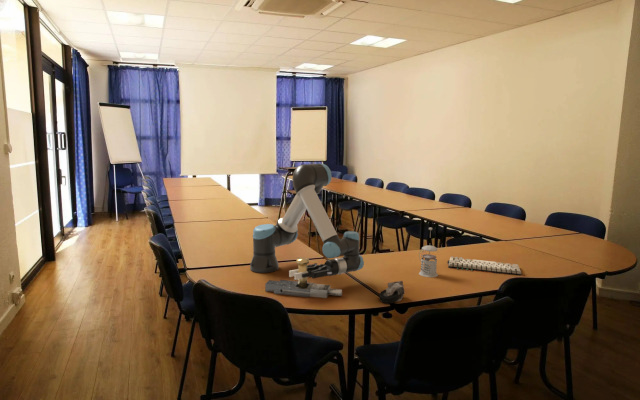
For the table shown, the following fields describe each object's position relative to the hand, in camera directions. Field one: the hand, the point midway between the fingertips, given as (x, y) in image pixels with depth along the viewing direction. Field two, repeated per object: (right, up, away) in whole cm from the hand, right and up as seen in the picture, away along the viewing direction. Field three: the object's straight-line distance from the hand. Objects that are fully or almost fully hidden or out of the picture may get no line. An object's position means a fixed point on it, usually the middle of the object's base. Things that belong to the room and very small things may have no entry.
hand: (292, 275), depth 183 cm
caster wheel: (+44, -11, -4) cm, 45 cm away
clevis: (+4, -9, +4) cm, 11 cm away
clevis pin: (+4, -7, +4) cm, 9 cm away
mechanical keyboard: (+102, -5, +45) cm, 112 cm away
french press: (+68, -5, +33) cm, 76 cm away
